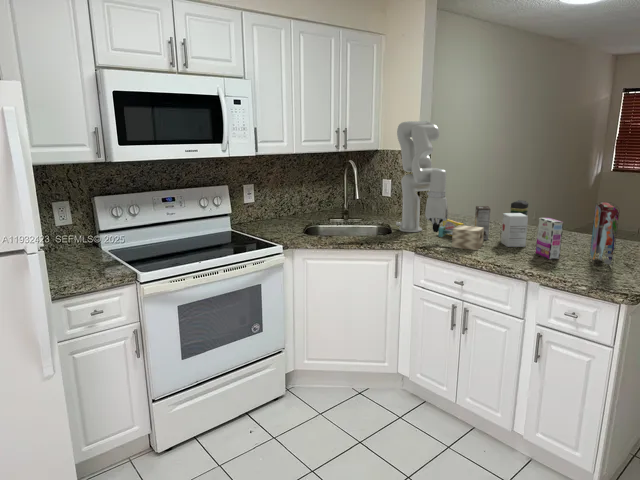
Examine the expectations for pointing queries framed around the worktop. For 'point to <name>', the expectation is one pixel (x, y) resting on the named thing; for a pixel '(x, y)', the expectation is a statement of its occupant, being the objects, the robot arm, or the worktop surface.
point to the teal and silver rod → (444, 231)
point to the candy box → (451, 224)
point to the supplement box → (514, 229)
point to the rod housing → (467, 237)
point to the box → (604, 232)
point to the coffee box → (483, 219)
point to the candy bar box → (549, 238)
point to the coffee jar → (519, 207)
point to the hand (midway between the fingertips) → (435, 231)
